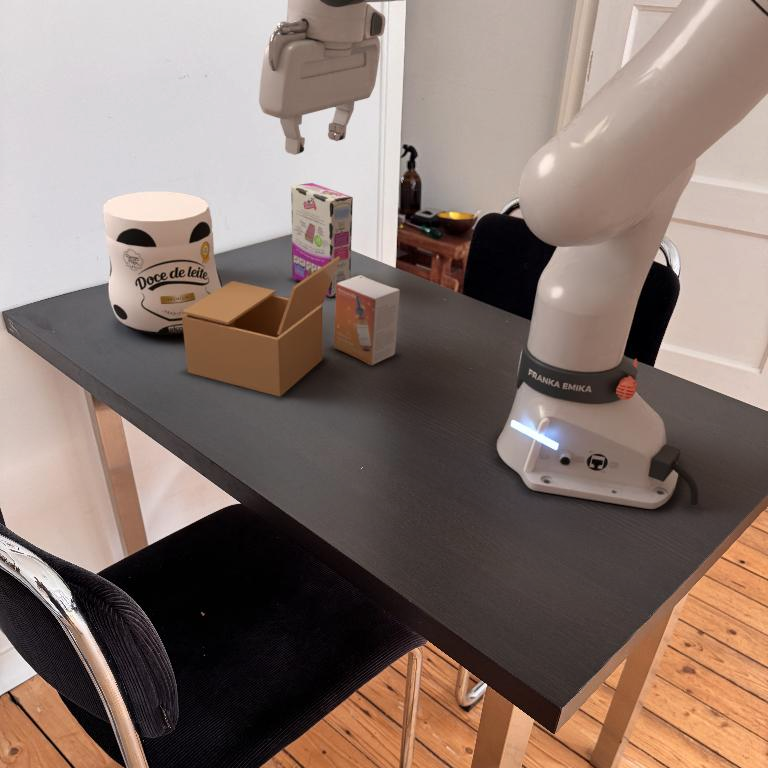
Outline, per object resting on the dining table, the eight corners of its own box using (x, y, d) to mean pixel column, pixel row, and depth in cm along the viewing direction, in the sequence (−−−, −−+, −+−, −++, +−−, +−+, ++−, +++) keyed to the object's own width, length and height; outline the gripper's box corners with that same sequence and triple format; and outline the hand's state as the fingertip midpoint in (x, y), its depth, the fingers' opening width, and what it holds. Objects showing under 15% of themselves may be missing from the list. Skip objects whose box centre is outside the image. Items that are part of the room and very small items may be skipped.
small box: (333, 349, 121) (334, 282, 115) (357, 338, 125) (360, 273, 118) (371, 366, 117) (375, 298, 111) (396, 355, 120) (400, 288, 114)
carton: (322, 359, 118) (322, 300, 112) (280, 397, 108) (278, 333, 103) (235, 338, 122) (232, 280, 117) (187, 372, 112) (181, 310, 107)
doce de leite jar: (177, 354, 117) (163, 232, 106) (89, 326, 123) (68, 208, 112) (246, 315, 129) (240, 203, 118) (164, 292, 135) (151, 182, 124)
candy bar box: (352, 292, 140) (354, 196, 130) (330, 298, 137) (331, 201, 127) (312, 273, 146) (312, 180, 136) (291, 279, 143) (289, 185, 133)
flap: (321, 300, 112) (323, 302, 112) (277, 334, 103) (279, 335, 103) (338, 256, 108) (340, 257, 107) (293, 286, 98) (295, 288, 98)
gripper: (296, 30, 81) (288, 169, 90) (393, 18, 95) (377, 138, 104) (247, 16, 83) (244, 154, 91) (349, 6, 97) (337, 126, 106)
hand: (316, 145), depth 98 cm, fingers open, 8 cm apart
